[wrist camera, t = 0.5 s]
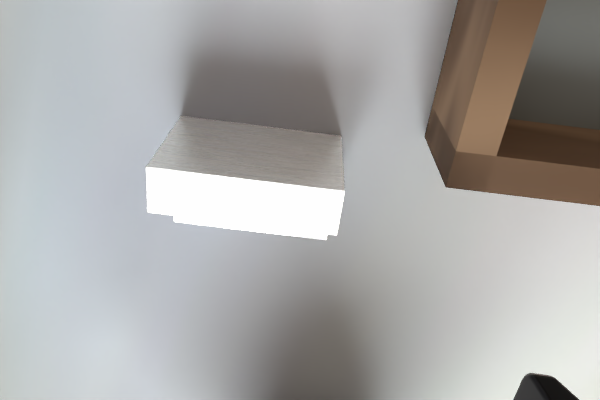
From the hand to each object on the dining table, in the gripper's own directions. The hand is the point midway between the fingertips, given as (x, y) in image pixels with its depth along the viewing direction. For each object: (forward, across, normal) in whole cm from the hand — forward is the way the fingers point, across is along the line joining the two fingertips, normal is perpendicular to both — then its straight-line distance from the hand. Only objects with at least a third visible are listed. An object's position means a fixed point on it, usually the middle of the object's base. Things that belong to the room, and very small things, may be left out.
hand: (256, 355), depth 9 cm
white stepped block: (+12, +1, +2) cm, 13 cm away
